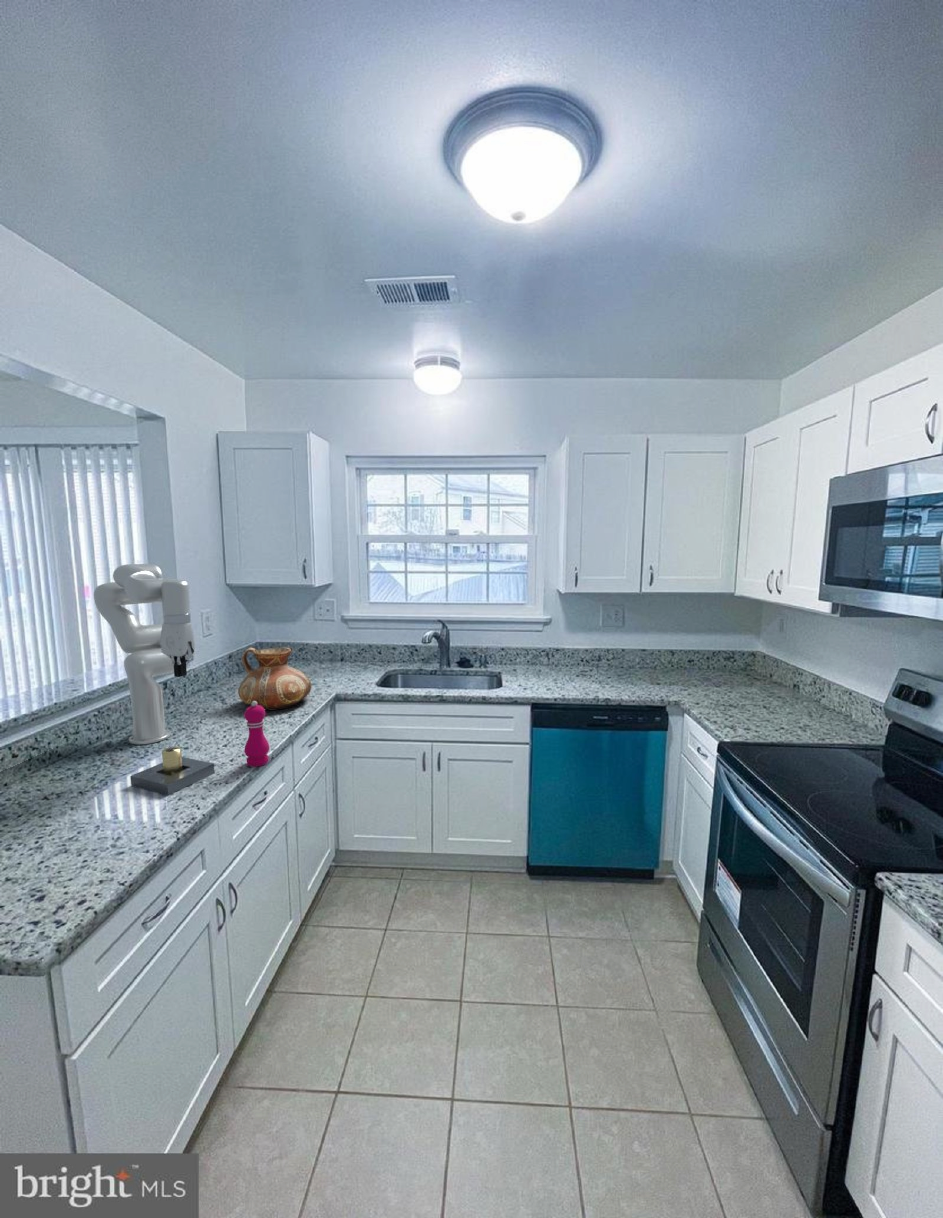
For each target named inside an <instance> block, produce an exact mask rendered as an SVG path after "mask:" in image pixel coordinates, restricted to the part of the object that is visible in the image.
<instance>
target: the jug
mask: <svg viewBox="0 0 943 1218" xmlns="http://www.w3.org/2000/svg"><path fill="white" fill-rule="evenodd" d="M248 653H252V654H253V656H254V657H255V658H256V661H257V662H258V667H257V668H255V669H254V668H252V667H251V666H250V663H249V661H248V658H247V656H248ZM291 653H292V649H291V648H289V647H273V648H272V647H271V648H263V649H256V648H255V647H249V648H246V650H245V651H244V652H243V654H242V656H241V661H242V665H243V667H244V669H245V671H246V673H247V674H246V676H245V677H244V679H242V681H241V682H240V685H239V687H238V690H237V691H238V692H237V694H238V697H239V700H241V701H242V702H243V703H244V704H246V705H248V706H249V707H250V706H252V705H251V703H252V702H253V701H256V702H257V705H259V706H262V707H263V708H264V709H268V710H267V711H270V710H269V709H278V710H281V709H280V708H283V709H286V707H287V708H290V707H292V706H295V705H296V704H297V703H299V702H301V701H302V700H304V699H305V698H306V697H307V696H308V695H309V694H310V692H311V690H312V682H311V680H310V678H309V677H308V676H307V675H306V674H305V673H304V672H303V671H302V670H300V669H298V668H294V667H292V666H290V665H289V664H288V661H289V660H288V659H289V657H290V655H291ZM289 706H290V707H289Z"/></svg>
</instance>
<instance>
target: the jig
mask: <svg viewBox="0 0 943 1218" xmlns="http://www.w3.org/2000/svg"><path fill="white" fill-rule="evenodd" d="M182 768H183V771H181V772H178V773H176V774H174V775H172V776H169V775H165V774H164V772H163V762H161V763H158V764H156V765H154V766H152V767H148V768H146V769H143V770H142V771H139V772H137V773H134V774H132V775H130V787H132V788H133V787H134V788H137V789H142V790H145V791H149V792H153V793H157V794H162V795H165V796H169V795H172V794H174V793H175V792H177V791H180V790H182V789H185V788H186V787H189V786H190V785H192V784H194V783H197V782H199V781H200V780H203V779H205V778H207V777H209V776H212V775H213V774H215V763H213V762H209V761H204V760H198V759H194V758H189V757H184V756H182Z"/></svg>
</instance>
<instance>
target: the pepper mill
mask: <svg viewBox="0 0 943 1218" xmlns="http://www.w3.org/2000/svg"><path fill="white" fill-rule="evenodd" d="M251 705H252V706H250V705H249V707H247V708H246V709H245V710H244V715H243V716H244V719H245V720H246V727H247V728H248V738H247V741H246V743H245V745H244V755H245V756H246V757H247V758H246V765H247V767H250V768H251V767H252V768H253V767H254V768H255V767H261V766H263V765H267V763H268V762H269V755H268V753H269V751H270V745H269V742H268V740H267V738H266V736H265V734H264V728H263V727H264V726H265V720H264V718H265V717H266V710H264V708H263V707H262V706H259V705H257V702H256V701H253V702H252V703H251Z"/></svg>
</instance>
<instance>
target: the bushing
mask: <svg viewBox="0 0 943 1218" xmlns="http://www.w3.org/2000/svg"><path fill="white" fill-rule="evenodd" d="M161 757H162V763H163V772H164V774H165V775H169V776H172V775H174V774H176V773H178V772H181V771H183V768H182V757H183V756H182V747H180V746H171V747H167V748H165V749H162V751H161Z"/></svg>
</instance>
